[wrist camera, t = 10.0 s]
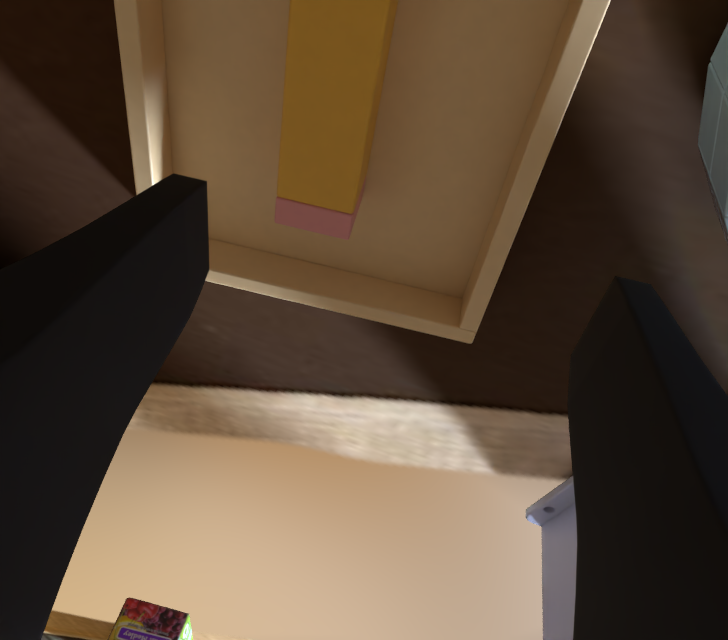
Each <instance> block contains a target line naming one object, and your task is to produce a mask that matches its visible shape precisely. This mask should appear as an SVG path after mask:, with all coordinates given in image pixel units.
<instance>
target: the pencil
mask: <svg viewBox="0 0 728 640" xmlns="http://www.w3.org/2000/svg"><path fill="white" fill-rule="evenodd" d="M397 5H398V0H290V5H289V19H288V34H287V48H286V63H285V77H284V92H283V106H282V121H281V135H280V150H279V164H278V179H277V197H276V204H275V218H274V221H275V223H277V224H281V225H286V226H290V227H294V228H298V229H303V230H307V231H311V232H315V233H319V234H324V235H328V236H332V237H336V238H341V239H345V240H348V239H349V238H350V235H351V232H352V228H353V225H354V222H355V219H356V216H357V213H358V210H359V207H360V204H361V200H362V197H363V192H364V186H365V181H366V174H367V169H368V164H369V158H370V153H371V147H372V142H373V136H374V131H375V125H376V120H377V114H378V109H379V103H380V98H381V92H382V87H383V81H384V76H385V70H386V65H387V59H388V54H389V48H390V43H391V37H392V32H393V26H394V21H395V15H396V10H397Z"/></svg>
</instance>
